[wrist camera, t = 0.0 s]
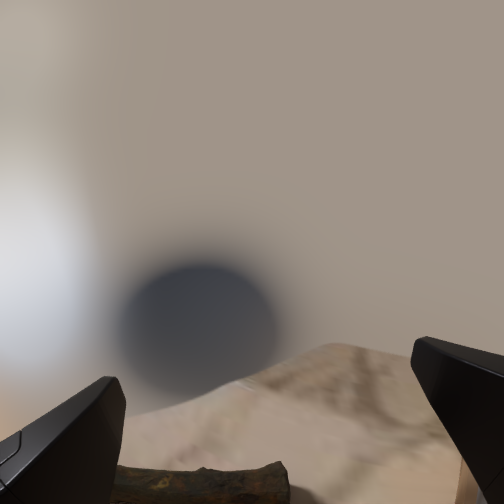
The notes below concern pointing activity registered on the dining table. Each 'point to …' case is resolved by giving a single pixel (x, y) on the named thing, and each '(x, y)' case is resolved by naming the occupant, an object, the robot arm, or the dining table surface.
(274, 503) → the dark brown bar
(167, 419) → the dining table surface
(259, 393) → the dining table surface
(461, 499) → the ball pusher game
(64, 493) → the robot arm
